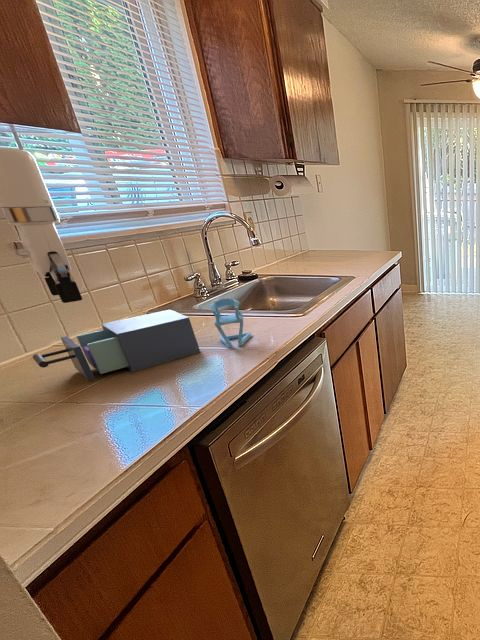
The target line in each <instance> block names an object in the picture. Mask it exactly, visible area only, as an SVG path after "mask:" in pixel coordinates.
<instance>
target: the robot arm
mask: <svg viewBox="0 0 480 640" xmlns="http://www.w3.org/2000/svg"><path fill="white" fill-rule="evenodd" d="M0 209H1V211H2V213H3V215H4V218H5V220H6V222H7V224H8V225H9V226H16V229H17V232H18V235H19V238H20V240H21V243H22V245H23V247H24V250H25V253H26V254H27V258H28V259H29V262H30V264H31V267H32V270H33V271H35V272H37V273H38V274H40V275H42V276H44V281H45V283H46V285H47V287H48V290H49V292H50V294H51V295H52V296H54V297H55V296H59V299H60V301H61V302H62V303H63V304H66V303H67V304H68V303H75V302H79V301H83V297H82V295H81V292H80V289H79V287H78V285H77V282H76V281H75V279H74V277H73V276H72V273H71V271H72V270H73V268H72V265H71V262H70V260H69V257H68V253H67V252H66V249H65V246H64V244H63V242H62V240H61V237H60V234H59V233H58V232H59V231H58V230H57V228H56V226H55V224H60V223H61V221H60V217H59V215H58V212H57V210H56V207H55V206H54V201H53V199H52V197H51V195H50V192H49V190H48V187H47V185H46V183H45V180H44V177H43V175H42V172H41V169H40V167H39V165H38V163H37V160H36V158H35V156H34V155H33V154H32V153H31V152H29V151H27V150H24V149H21V148H9V147H0Z"/></svg>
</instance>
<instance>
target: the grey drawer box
mask: <svg viewBox="0 0 480 640" xmlns="http://www.w3.org/2000/svg"><path fill="white" fill-rule="evenodd" d="M101 327H102V330H104V329H106V330H108V331H109V332H111V333H112V334H114V335H115V336H117V337H118V340H119V342H120V345H121V347H122V349H123V352H124V354H125V357H126V359H127V361H128V364H129V366H127V367H126V368H127V369H128V370H130V371H131V372H137V371H140V370H145V369H147V368H150V367H154V366H158V365H161V364H164V363H167V362H170V361H174V360H178V359H181V358H185V357H189V356H191V355H195V354H198V353H200V352H201V350H200V346H199V344H198V340H197V337H196V333H195V332H194V328H193V326H192V323H191V319H190V317H189V316H187V315H184V314H182V313H181V312H177V311H175V310H172V309H169V308H168V309H166V310H160V311H155V312H152V313H146V314H142V315H136V316H133V317H128V318H124V319H117V320H114V321H109V322H104V323H101Z"/></svg>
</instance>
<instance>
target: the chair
mask: <svg viewBox="0 0 480 640" xmlns="http://www.w3.org/2000/svg"><path fill="white" fill-rule="evenodd" d="M228 306H232V307H233V306H234V310H235V313H234V314H228V315H221V312H220V310H219V308H222V307H228ZM239 306H240V301H239V300H236V299H233V298H222V299H219V300H216V301H214V302H212V303H211V304H209V307H210V309H211V311H212V314H213V315H214V317H215V320H214V327H216V329H217V330H218V332H219V334H220V335H221V337H219V341H220V342H221V343H222V344H224V345H225V346H226V347H227V348H228V349H230V348H233V345H232V341H230V340H232V339H237V344H238V346H239V347H242V346H243V345H244V344H245V343H246V342H247V341H248V340H249V339H250V338H251V337H252V333H251V332H244V315H243V312H240V309H239V308H240V307H239ZM230 324H239V329H238V330H239V331H238V334H232V335H227V334H226V333H225V332H224V329H223V328H222V326H225V325H230ZM243 332H244V333H243Z"/></svg>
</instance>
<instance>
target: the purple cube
mask: <svg viewBox="0 0 480 640" xmlns="http://www.w3.org/2000/svg"><path fill="white" fill-rule="evenodd" d="M82 348H83V350H84V352H85V354H86V356H87V358H86V360H87V359H88V360H87V362H88V361H89V362H88V364H89V363H90V364H91V365H92V366H93V367H92V366H91V365H90V364H89V365H90V366H91V367H92V368H93V369H95V368H97V366H96V364H95V361H94V359H93V357H92V355H91V353H90V350H89V348H88V346H83V347H81V349H82ZM83 350H82V351H83ZM84 352H83V353H84ZM85 354H84V355H85ZM86 356H85V357H86Z"/></svg>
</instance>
